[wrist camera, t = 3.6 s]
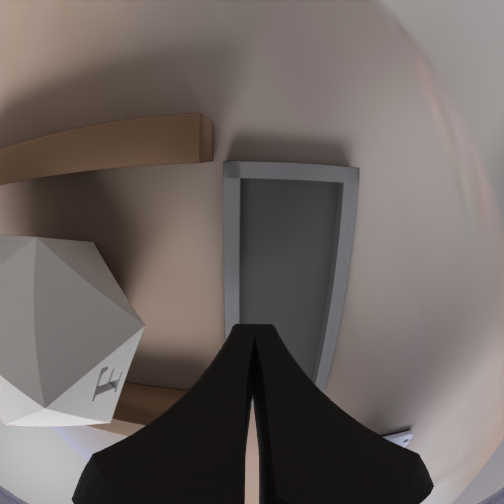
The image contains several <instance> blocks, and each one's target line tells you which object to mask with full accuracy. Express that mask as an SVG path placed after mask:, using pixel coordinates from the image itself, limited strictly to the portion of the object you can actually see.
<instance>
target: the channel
mask: <svg viewBox="0 0 504 504" xmlns="http://www.w3.org/2000/svg"><path fill="white" fill-rule="evenodd" d="M210 161H213V123H212V122H211V121H209V120H208V119H207V118H206V117H204V116H203V115H202V114H201V113H188V114H174V115H162V116H152V117H143V118H135V119H127V120H120V121H113V122H107V123H101V124H96V125H90V126H85V127H80V128H75V129H71V130H66V131H62V132H57V133H53V134H49V135H45V136H42V137H38V138H34V139H31V140H27V141H24V142H20V143H17V144H14V145H11V146H8V147H5V148H2V149H0V185H4V184H8V183H13V182H18V181H24V180H29V179H35V178H41V177H47V176H53V175H60V174H67V173H74V172H82V171H91V170H100V169H109V168H120V167H132V166H146V165H163V164H186V163H203V162H210ZM187 391H188V390H179V389H170V388H162V387H154V386H147V385H140V384H134V383H127V382H124V384H123V387H122V390H121V393H120V396H119V399H118V402H117V405H116V408H115V411H114V414H113V417H112V420H111V423H104V424H92V425H87V426H91V427H94V428H98V429H101V430H105V431H109V432H113V433H117V434H121V435H126V436H130V435H132V434H134V433H135V432H137V431H138V430H140V429H141V428H143V427H144V426H146V425H147V424H149V423H150V422H152V421H153V420H154V419H156V418H157V417H159V416H160V415H161V414H162V413H164V412H165V411H166V410H167V409H169V408H170V407H171V406H172V405H173V404H174V403H175V402H177V401H178V400H179V399H180V398H181V397H182V396H183V395H184V394H185V393H186V392H187Z"/></svg>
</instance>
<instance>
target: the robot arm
mask: <svg viewBox="0 0 504 504" xmlns="http://www.w3.org/2000/svg"><path fill="white" fill-rule="evenodd" d="M252 394H253V403H254V412H255V421H256V429H257V438H258V447H259V504H420V503H421V502H422V501H423V500H424V499H426V498H427V497H428V496H429V495H430V493H431V491H432V489H433V487H434V485H433V482H432V480H431V478H430V475H429V472H428V470H427V468H426V466H425V464H424V463H423V461H422V459H421V457H420V455H419V454H418V453H415V452H413V451H411V450H408V449H406V448H405V447H406V445H407V444H408V443H409V441H410V440H411V438H412V437H413V435H414V434H413V432H412V431H406V432H402V433H398V434H394V435H389V436H385V437H382V436H380V435H378V434H376V433H375V432H373V431H371V430H370V429H368V428H366V427H365V426H363V425H362V424H361V423H359V422H358V421H356V420H355V419H354V418H352V417H351V416H350V415H348V414H347V413H345V412H344V411H343V410H342V409H340V408H339V407H338V406H337V405H336V404H335V403H334V402H332V401H331V400H330V399H329V398H328V397H327V396H326V395H325V394H324V393H323V392H322V391H321V390H320V389H319V388H318V387H317V386H316V385H315V384H314V383H313V382H312V380H311V379H310V378H309V377H308V376H307V375H306V373H305V372H304V371H303V370H302V368H301V367H300V366H299V365H298V363H297V362H296V360H295V359H294V358H293V356H292V355H291V353H290V352H289V350H288V349H287V347H286V346H285V344H284V342H283V341H282V339H281V337H280V335H279V334H278V332H277V329H276V327H275V326H274V325H273V324H235V325H234V326H232V329H231V332H230V334H229V336H228V338H227V340H226V341H225V343H224V345H223V346H222V348H221V350H220V351H219V353H218V354H217V356H216V357H215V359H214V360H213V361H212V363H211V364H210V365H209V367H208V368H207V369H206V371H205V372H204V373H203V374H202V376H201V377H200V378H199V379H198V380H197V381H196V383H195V384H194V385H193V386H192V387H191V388H190V389H189V390H188V391H187V392H186V393H185V394H184V395H183V396H182V397H181V398H180V399H179V400H178V401H177V402H175V403H174V404H173V405H172V406H171V407H170V408H169V409H167V410H166V411H165V412H164V413H162V414H161V415H160V416H159V417H157V418H156V419H154V420H153V421H152V422H150V423H149V424H147V425H146V426H144V427H143V428H141V429H140V430H138V431H137V432H135V433H134V434H132V435H130V436H128V437H127V438H125V439H123V440H121V441H119V442H117V443H115V444H113V445H111V446H109V447H107V448H105V449H103V450H101V451H99V452H97V453H94V454H93V455H92V457H91V458H90V460H89V462H88V463H87V465H86V466H85V468H84V470H83V472H82V474H81V477H80V479H79V482H78V484H77V487H76V489H75V492H74V495H73V497H72V501H73V503H74V504H244V503H245V455H246V443H247V436H248V427H249V419H250V411H251V403H252ZM0 504H28V503H26V502H24V501H23V500H21V499H20V498H18V497H16V496H15V495H13V494H12V493H10V492H9V491H7V490H6V489H4V488H3V487H2V486H0ZM479 504H504V487H503V488H502V489H500V490H499V491H497V492H496V493H494V494H493V495H491V496H490V497H488V498H487V499H485V500H483V501H482V502H480V503H479Z"/></svg>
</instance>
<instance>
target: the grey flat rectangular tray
mask: <svg viewBox="0 0 504 504" xmlns="http://www.w3.org/2000/svg"><path fill="white" fill-rule="evenodd" d="M358 184H359V168H355V167H346V166H335V165H323V164H308V163H290V162H263V161H223V257H224V304H225V336H226V340H227V338H228V336H229V334H230V332H231V329H232V326H234V325H235V324H273V325H274V326H275V327H276V329H277V332H278V334H279V335H280V337H281V339H282V341H283V342H284V344H285V346H286V347H287V349H288V350H289V352H290V353H291V355H292V356H293V358H294V359H295V360H296V362H297V363H298V365H299V366H300V367H301V368H302V370H303V371H304V372H305V373H306V375H307V376H308V377H309V378H310V379H311V380H312V382H313V383H314V384H315V385H316V386H317V387H318V388H319V389H320V390H321V391H322V392H323V393H325V389H326V385H327V381H328V377H329V373H330V369H331V364H332V360H333V356H334V351H335V346H336V342H337V337H338V332H339V327H340V322H341V317H342V311H343V306H344V300H345V294H346V288H347V282H348V275H349V268H350V261H351V254H352V246H353V238H354V229H355V219H356V209H357V197H358ZM251 407H254V403H253V394H252V403H251Z"/></svg>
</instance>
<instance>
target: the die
mask: <svg viewBox="0 0 504 504" xmlns="http://www.w3.org/2000/svg"><path fill="white" fill-rule="evenodd" d="M144 328H145V324H144V323H143V321H142V320H141V318H140V317H139V316H138V314H137V313H136V311H135V310H134V308H133V307H132V305H131V304H130V302H129V301H128V299H127V297H126V296H125V294H124V293H123V291H122V290H121V288H120V286H119V285H118V283H117V282H116V280H115V278H114V277H113V275H112V273H111V272H110V270H109V268H108V267H107V265H106V263H105V262H104V260H103V258H102V256H101V255H100V253H99V251H98V249H97V247H96V246H95V244H94V242H87V241H75V240H64V239H53V238H41V237H28V236H13V235H0V419H1V421H2V422H3V423H4V425H13V426H14V425H15V426H76V425H92V424H104V423H111V420H112V417H113V414H114V411H115V408H116V405H117V402H118V399H119V396H120V393H121V390H122V387H123V384H124V381H125V378H126V376H127V373H128V370H129V367H130V365H131V362H132V359H133V356H134V354H135V351H136V349H137V346H138V343H139V341H140V338H141V336H142V333H143V330H144Z"/></svg>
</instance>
